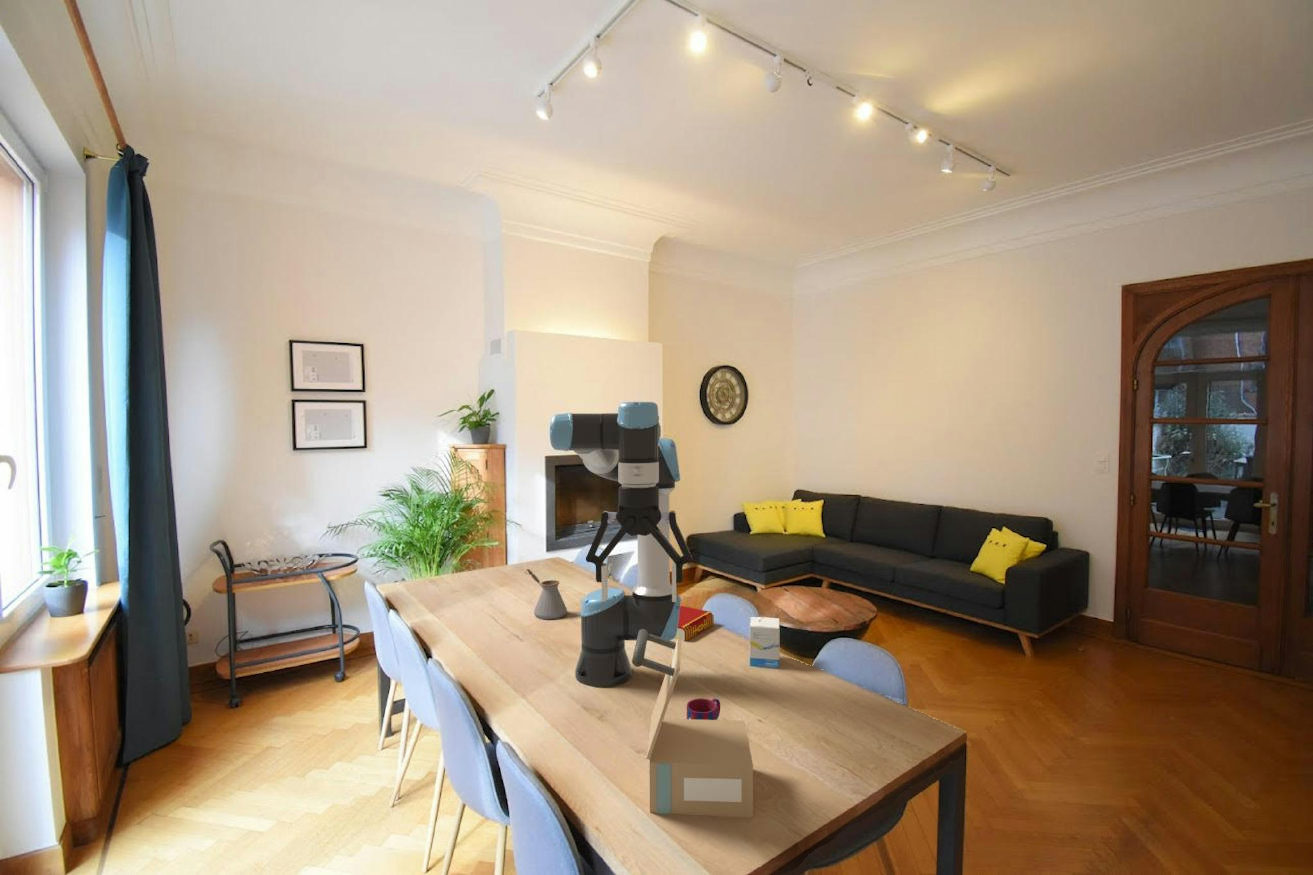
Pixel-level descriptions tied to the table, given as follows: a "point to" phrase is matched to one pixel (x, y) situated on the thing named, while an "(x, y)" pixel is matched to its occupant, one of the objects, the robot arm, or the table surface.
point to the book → (692, 622)
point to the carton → (702, 769)
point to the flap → (668, 681)
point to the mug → (703, 709)
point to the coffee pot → (549, 600)
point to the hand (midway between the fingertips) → (639, 599)
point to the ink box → (764, 642)
